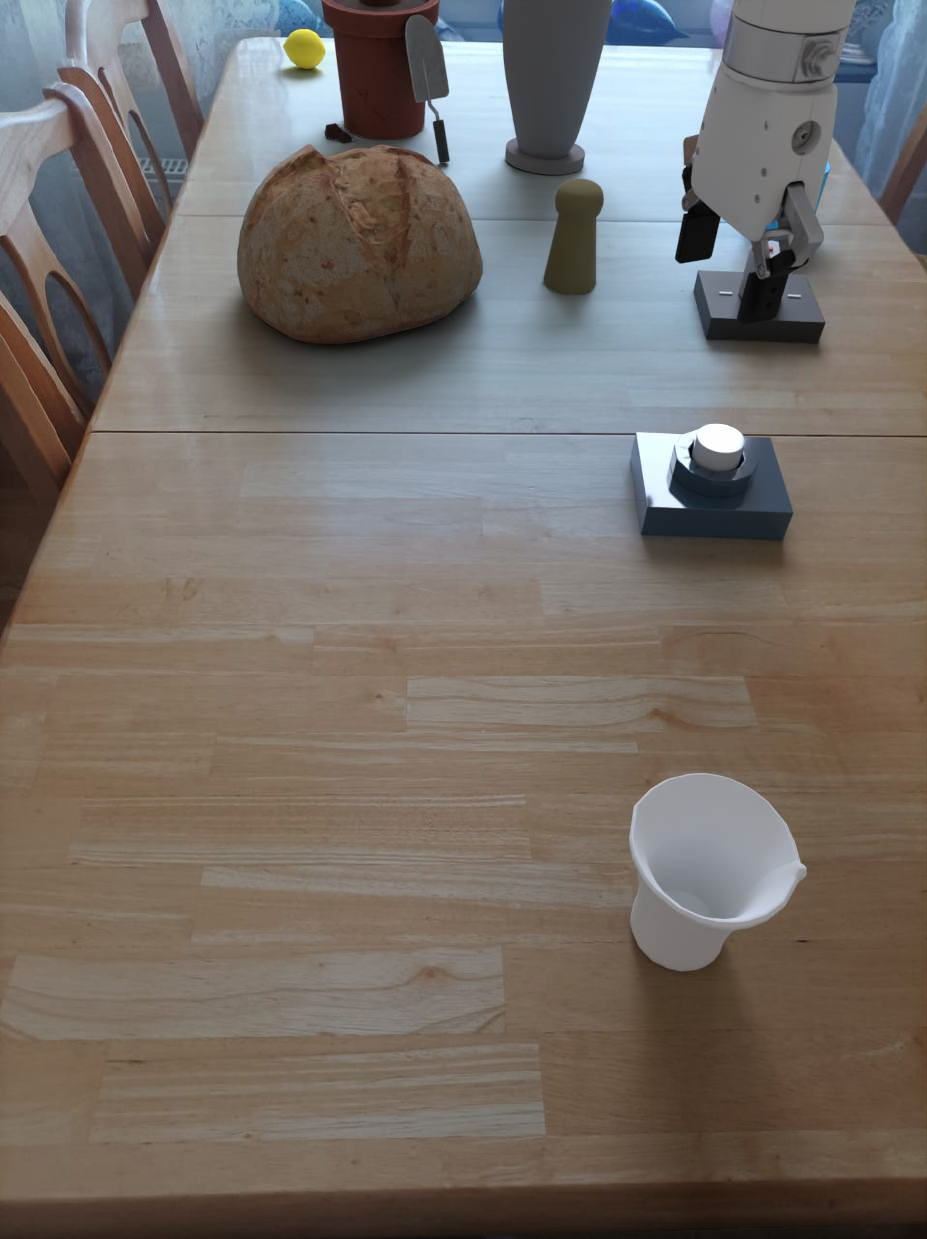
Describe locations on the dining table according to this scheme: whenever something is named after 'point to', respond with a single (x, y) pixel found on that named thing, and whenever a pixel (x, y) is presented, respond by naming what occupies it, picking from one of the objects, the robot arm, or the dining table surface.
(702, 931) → the cup
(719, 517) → the push button box
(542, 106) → the vase
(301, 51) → the lemon
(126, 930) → the dining table surface
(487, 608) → the dining table surface
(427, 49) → the potted plant
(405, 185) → the bread
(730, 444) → the button
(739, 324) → the knob base
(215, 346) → the dining table surface
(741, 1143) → the dining table surface
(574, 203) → the game pawn
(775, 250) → the lock knob
